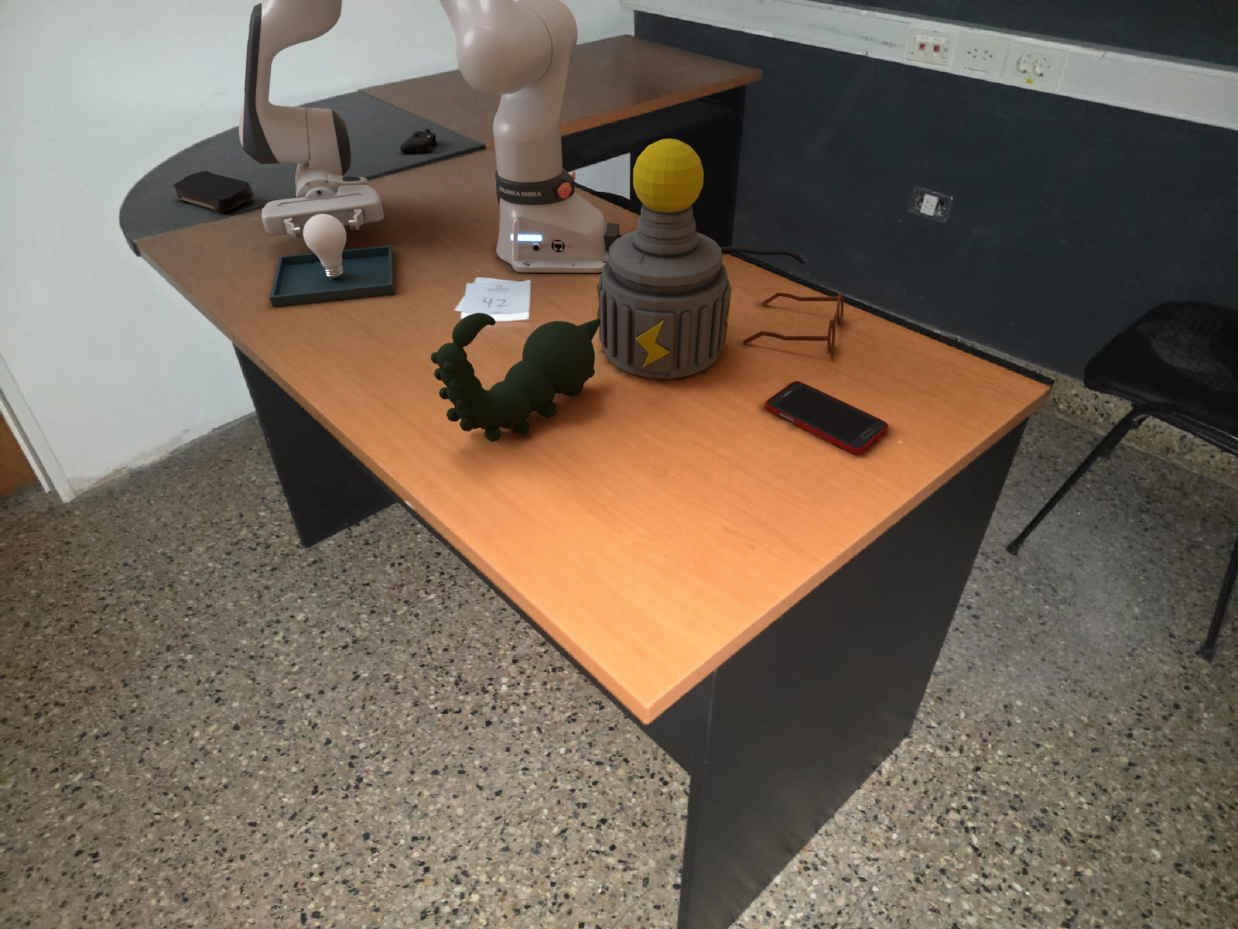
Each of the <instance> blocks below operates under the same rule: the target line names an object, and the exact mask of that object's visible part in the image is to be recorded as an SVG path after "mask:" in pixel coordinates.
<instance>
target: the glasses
mask: <svg viewBox="0 0 1238 929" xmlns="http://www.w3.org/2000/svg"><path fill="white" fill-rule="evenodd" d="M779 297H783V298H788V299H791V300H795V301H797V302H836V310H835V311H834V314H833V319H830V320H829V323H828V327H827V335H783V334H780V333H778V332H777V333H776V332H774V331H773V332H772V331H763V330H761V331H759V332H756V333H754V334H752V335H751V336H748V337H747V338H745V339H742V342H743V344H744V345H747V344H749V343H751V342H753V341H755V340H757V339H759V338H760V337H763V336H765V337H769V338H770V337H771V338H774V339H775V338H776V339H779V340H781V341H795V342H797V341H798V342H799V341H800V342H801V341H802V342H803V341H804V342H827V352H828V354H833V352H834V349H835V344H836V324H837V326H841V325H843V324H842V323H843V319H844V308H845V307H844V306H845V304H844V303H845V302H844V300H845V299H844V293H839V294H838V296H799V295H795V294H793V293H788V292H775V293H774V294H773V295H772V296H770V297H768V298H766V299H765V300H764V301H762V302H761V305H762V306H763V307H764V306H766V305H767V304H769V303H771V302H773V301H774V300H776V299H777V298H779Z"/></svg>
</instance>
